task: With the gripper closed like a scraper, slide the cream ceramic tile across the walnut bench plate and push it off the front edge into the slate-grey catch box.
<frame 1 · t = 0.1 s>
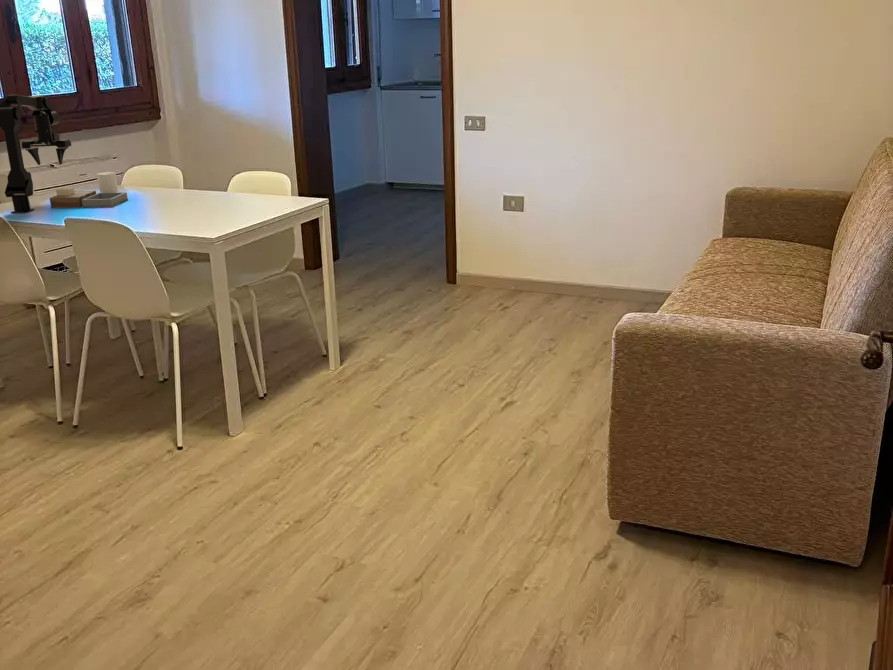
hand: (50, 164, 349), 15 cm above the table, fingers open, 9 cm apart
white cup: (109, 197, 356), on the table
catch box: (105, 203, 341), on the table
bench plate: (74, 203, 341), on the table
tile: (65, 194, 340), point 4 cm above the table, touching bench plate
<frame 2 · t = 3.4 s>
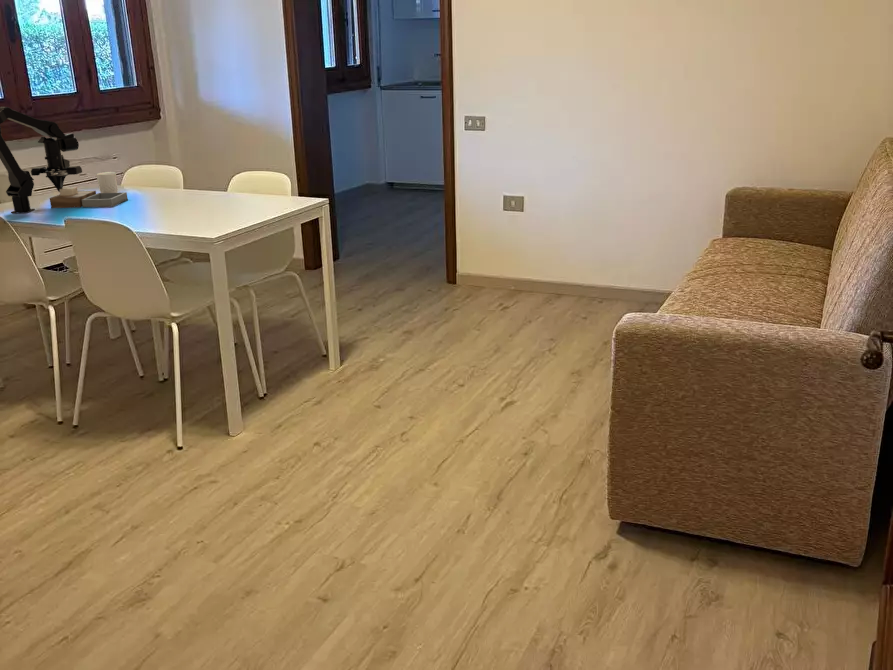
hand: (60, 191, 340), 5 cm above the table, fingers closed
tile: (69, 194, 340), point 4 cm above the table, touching bench plate
everything else where it was.
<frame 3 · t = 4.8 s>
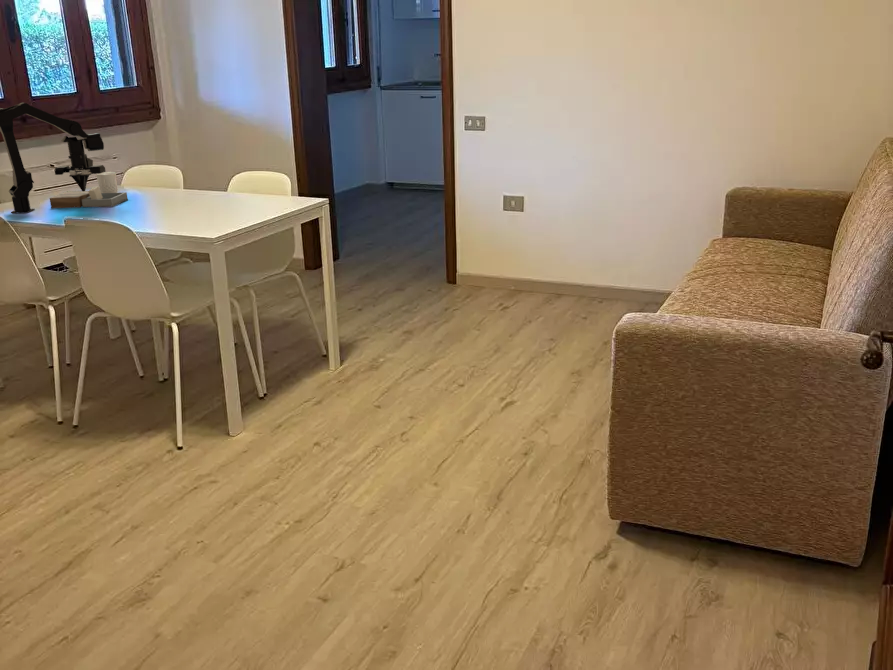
hand: (83, 191, 340), 5 cm above the table, fingers closed
tile: (92, 195, 341), point 3 cm above the table, tilted 82°
everything else where it was.
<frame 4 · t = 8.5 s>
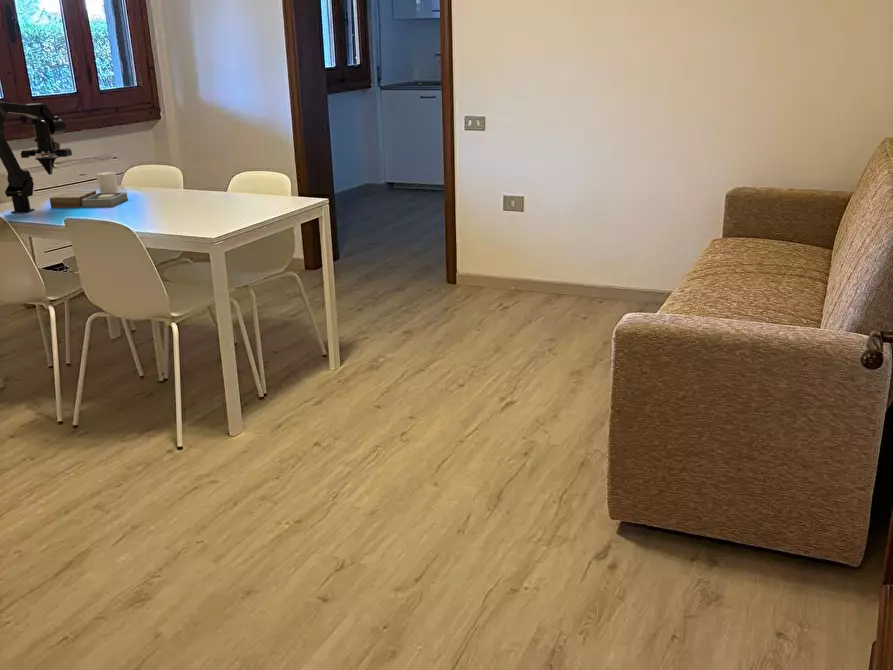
hand: (50, 174, 340), 12 cm above the table, fingers closed
tile: (106, 195, 341), point 3 cm above the table, tilted 180°, touching catch box
everything else where it was.
at the end: tile inside the target area on the catch box (1.1 cm from its centre), point 3.0 cm above the catch box's base; the gripper is holding nothing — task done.
